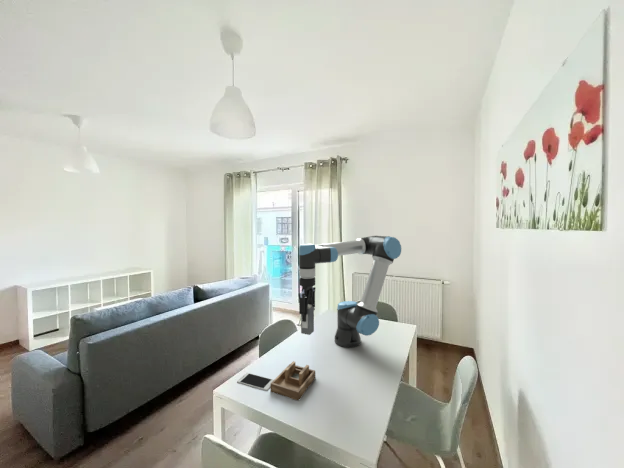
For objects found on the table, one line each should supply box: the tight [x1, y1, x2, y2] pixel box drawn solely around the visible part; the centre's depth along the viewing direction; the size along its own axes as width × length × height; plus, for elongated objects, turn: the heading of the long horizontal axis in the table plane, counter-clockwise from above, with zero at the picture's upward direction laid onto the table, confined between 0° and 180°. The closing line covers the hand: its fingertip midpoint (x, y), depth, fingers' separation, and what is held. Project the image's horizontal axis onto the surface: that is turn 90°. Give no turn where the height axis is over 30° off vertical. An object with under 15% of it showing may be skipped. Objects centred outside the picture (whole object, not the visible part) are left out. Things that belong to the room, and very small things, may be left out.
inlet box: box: [270, 360, 316, 401], centre depth 110 cm, size 16×13×6 cm
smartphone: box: [236, 372, 274, 392], centre depth 112 cm, size 7×16×1 cm, turn 68°
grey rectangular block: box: [300, 304, 315, 336], centre depth 121 cm, size 4×4×13 cm
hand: (307, 325), depth 122 cm, fingers closed on grey rectangular block, 4 cm apart
